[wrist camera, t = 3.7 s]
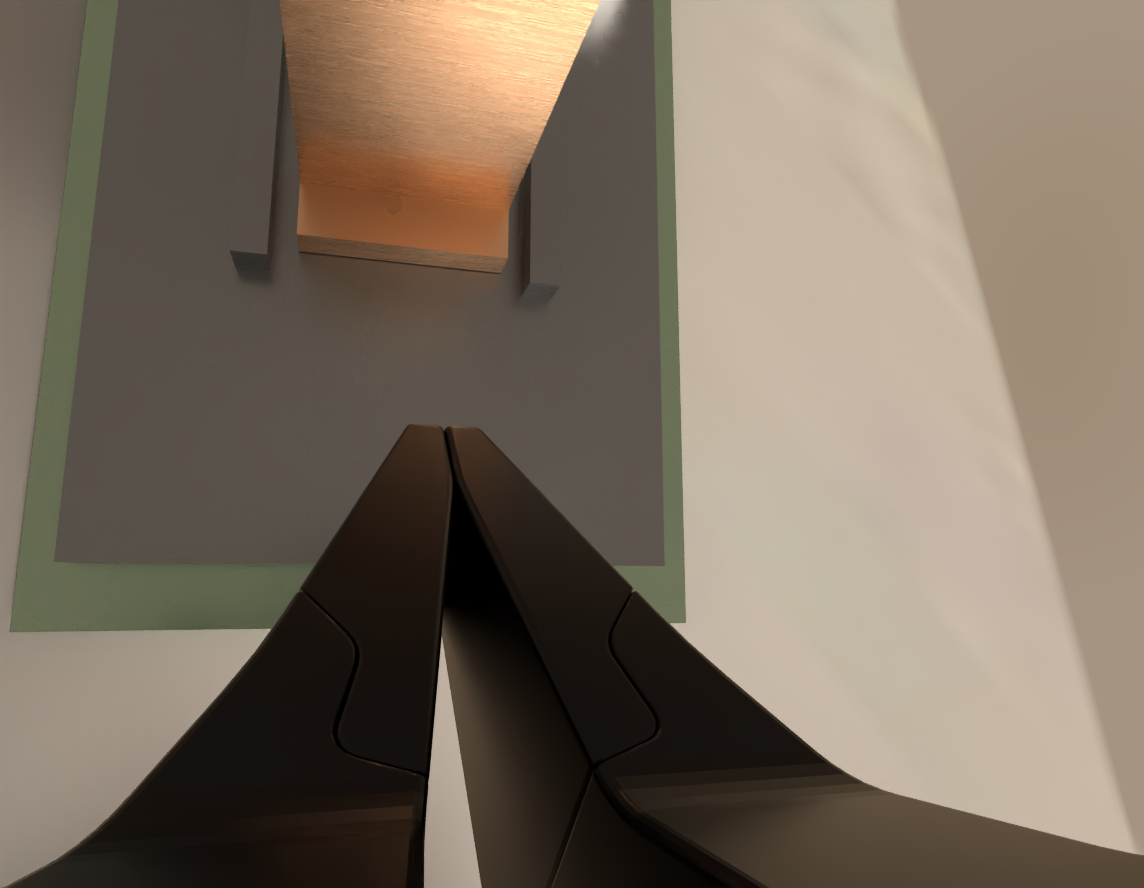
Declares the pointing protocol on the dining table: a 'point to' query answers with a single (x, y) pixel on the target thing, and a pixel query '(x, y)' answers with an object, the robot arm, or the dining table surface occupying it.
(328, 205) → the orange block
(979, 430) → the dining table surface
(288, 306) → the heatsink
